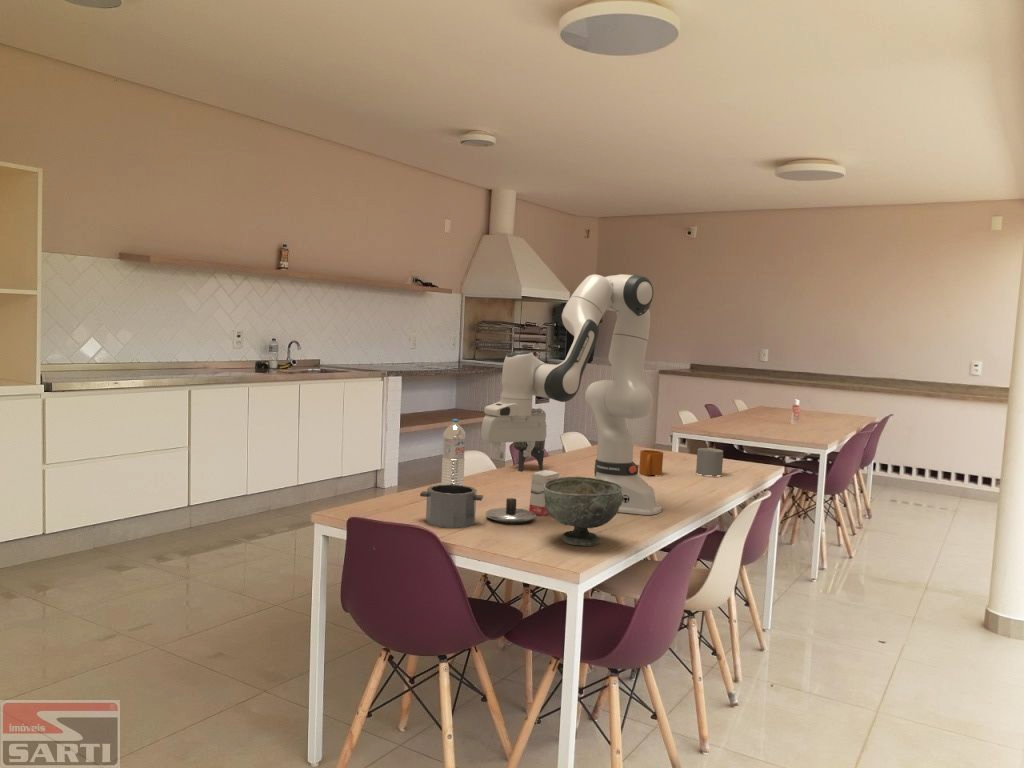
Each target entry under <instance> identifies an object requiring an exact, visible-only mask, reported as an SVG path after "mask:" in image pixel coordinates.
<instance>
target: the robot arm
mask: <svg viewBox="0 0 1024 768" xmlns="http://www.w3.org/2000/svg"><path fill="white" fill-rule="evenodd" d="M653 298H654V288H653V284H652V282H651V280H650V279H649V278H648V277H645V276H643V275H638V274H634V275H633V274H625V273H624V274H623V273H622V274H616V275H601V274H596V273H595V274H589V275H588V276H586V277H585V278H584V280H582V281H581V282H580V284H578V286H577V287H576V288H575V290H574V291H573V293H572V294H571V296H570V297H569V299H568V300H567V302H566V304H565V306H564V307H563V310H562V312H561V320H562V325H563V326H564V328H565V329H566V331H568V332H569V334H571V336H573V342H572V344H571V346H570V348H569V350H568V352H567V355H566V357H565V359H564V360H563V361H561V362H560V363H559V364H551V363H546V362H544V361H542V360H540V359H539V358H537V357H536V356H535V355H534V353H533V352H532V351H530V350H514V351H511V352H509V353H507V354H506V355H505V358H504V361H503V365H502V374H501V385H502V391H501V395H500V400H499V401H496V402H495V403H492V404H489V405H486V406H485V407H484V414H485V415H484V417H483V419H482V423H481V433H480V437H481V439H482V442H484V443H488V444H492V448H493V449H494V451H495V459H498V460H499V459H504V452H503V451H502V450H501V449H500V447H501V446H502V443H513V442H527V444H528V446H527V449H526V450H523V453H524V454H523V456H524V457H526V458H531V457H532V456H531V451H532V449H533V448H534V446H535V441H544V440H545V441H546V438H547V426H546V425H547V421H546V419H547V418H546V417H547V416H546V415H547V414H546V411H544V409H542V408H533V396H535V397H541V398H544V399H552V400H553V401H556V402H561V403H565V402H566V403H567V402H569V401H571V400H572V399H573V398H574V397H576V395H577V394H578V392H579V390H580V387H581V382H582V379H583V378H582V377H583V374H584V371H585V369H586V366H587V364H588V362H589V359H590V357H591V355H592V353H593V350H594V348H595V345H596V343H597V341H598V337H599V333H600V332H599V323H600V322H601V319H602V318H603V317H604V314H605V313H606V311H612V312H615V313H616V320H615V321H616V322H615V324H614V327H613V328H614V329H613V332H612V338H611V342H610V347H609V352H608V361H609V364H610V365H612V368H613V374H614V380H611V379H603V380H602V379H601V380H597V381H594V382H592V383H590V384H589V385H588V386H587V388H586V390H585V395H584V398H585V399H584V400H585V402H586V403H585V404H586V405H587V407H588V408H589V409H590V411H591V413H592V416H593V418H594V421H595V427H596V433H597V446H596V447H597V450H596V452H597V453H596V459H595V460H594V461H595V462H594V463H595V464H594V479H600V480H604V481H608V482H613V483H616V484H619V485H620V486H621V487H622V492H621V493H622V498H623V499H622V504H621V506H619V510H618V512H617V513H623V514H624V513H625V514H631V515H642V516H652V515H657V514H659V513H661V512H662V511H663V506H662V505H661V504H658V503H656V495H655V494H656V493H655V491H654V489H653V487H652V486H651V485H649V484H648V482H646V481H645V480H644V479H643V478H642V477H641V476H640V474H639V466H640V464H637V463H635V461H633V459H634V457H633V456H634V455H633V454H634V443H635V442H634V441H635V440H634V435H633V434H632V432H631V430H629V428H628V426H627V422H626V419H629V420H630V419H632V420H634V419H641V418H644V417H646V416H648V415H649V414H650V412H651V411H652V408H653V405H654V397H653V395H652V392H651V390H650V389H649V387H648V385H647V383H646V376H645V360H646V354H647V347H648V342H649V336H650V330H651V329H650V327H651V313H650V306H651V304H652V302H653Z"/></svg>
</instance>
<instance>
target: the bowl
mask: <svg viewBox="0 0 1024 768" xmlns="http://www.w3.org/2000/svg"><path fill="white" fill-rule="evenodd" d="M621 492H622V487H621V486H620V485H619V484H616V483H613V482H608V481H604V480H600V479H595V477H594V478H593V477H584V476H565V477H559V478H556V479H552V480H549V481H547V482H546V483H545V484H544V497H545V509H546V511H547V513H548V515H549V516H550V517H551V518H552V519H554V520H555V521H558V523H560V524H562V525H565V526H569V527H573V530H568V531H566V532H564V533H562V535H561V540H562V541H563V542H564V543H565V544H568V545H574V546H584V547H585V546H587V547H589V546H590V547H591V546H596V545H599V544H600V541H601V540H600V537H599V536H598V535H597V534H595V533H593V532H591V531H589V529H594V528H598V527H601V526H604V525H606V524H608V523H609V522H610V521H612V519H613V518H614V517H615V516H616V515H617V514H618V513H619V512H618V510H619V506H621V504H622V499H623V498H622V493H621Z"/></svg>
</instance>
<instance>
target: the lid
mask: <svg viewBox="0 0 1024 768" xmlns="http://www.w3.org/2000/svg"><path fill="white" fill-rule="evenodd" d="M505 503H506V505H505V507H501V508H500V507H499V508H491V509H488V510H486V512H485V516H486V517H487V518H488V519H490V520H494V521H496V522H499V523H503V524H522V523H526V522H529V521H533V520H535V519H536V517H537V514H535V513H534V512H532V511H529V509H522V508H517V498H515V497H513V498H512V497H511V498H509V497H508V498H506V500H505Z"/></svg>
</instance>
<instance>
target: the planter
mask: <svg viewBox="0 0 1024 768" xmlns="http://www.w3.org/2000/svg"><path fill="white" fill-rule="evenodd" d="M546 427H547V424H546ZM545 444H546V439H545V440H544V441H535V446H534V448H533V449H532V451H531V457H533V458H535V460H536V461H537V464H538V471H541V470H542V471H543V465H544V456H545V447H546V445H545ZM527 446H528V444H527V442H512V448H513V449H514V450H515V451H518V465H517V466H518V468H517V469H518V472H523V471H524V466H525V461H526V459H527V457H524V456H523V454H524V453H523V450H526V449H527Z"/></svg>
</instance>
